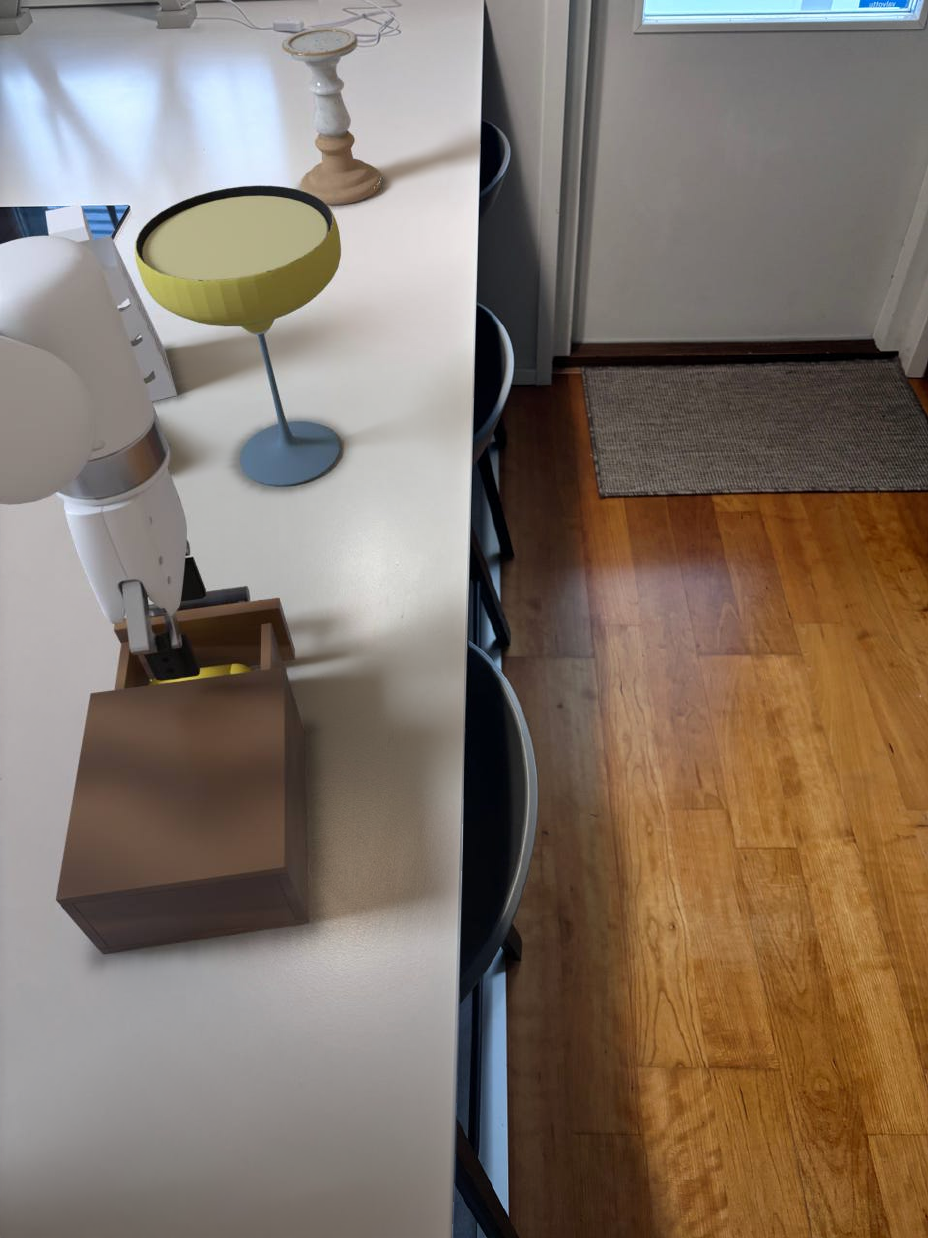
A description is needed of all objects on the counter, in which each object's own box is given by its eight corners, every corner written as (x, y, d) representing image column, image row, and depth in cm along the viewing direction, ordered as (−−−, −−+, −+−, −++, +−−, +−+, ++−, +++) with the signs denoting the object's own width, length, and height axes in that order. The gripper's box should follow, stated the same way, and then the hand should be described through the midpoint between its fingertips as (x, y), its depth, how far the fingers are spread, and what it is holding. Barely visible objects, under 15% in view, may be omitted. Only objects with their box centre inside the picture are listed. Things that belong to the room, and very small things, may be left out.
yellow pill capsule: (155, 721, 78) (141, 719, 74) (151, 678, 79) (137, 673, 75) (264, 706, 78) (256, 703, 75) (259, 663, 79) (251, 658, 75)
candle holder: (332, 213, 139) (308, 62, 124) (286, 188, 146) (257, 41, 131) (398, 185, 144) (382, 37, 129) (350, 162, 151) (329, 18, 136)
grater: (164, 349, 118) (110, 187, 103) (177, 395, 111) (121, 229, 96) (78, 369, 116) (11, 208, 101) (86, 417, 109) (14, 252, 94)
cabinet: (127, 756, 77) (90, 692, 71) (305, 731, 78) (284, 666, 72) (101, 954, 66) (55, 900, 60) (309, 923, 67) (285, 867, 61)
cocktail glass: (366, 393, 109) (330, 173, 90) (381, 495, 97) (343, 265, 78) (208, 416, 108) (139, 197, 89) (203, 521, 96) (123, 295, 77)
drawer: (145, 636, 85) (120, 583, 80) (294, 616, 85) (279, 563, 80) (121, 829, 72) (89, 781, 67) (297, 804, 73) (279, 754, 67)
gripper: (62, 374, 64) (144, 561, 77) (14, 553, 52) (120, 736, 66) (174, 361, 64) (236, 549, 78) (150, 536, 53) (228, 722, 66)
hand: (182, 634), depth 72 cm, fingers open, 7 cm apart
